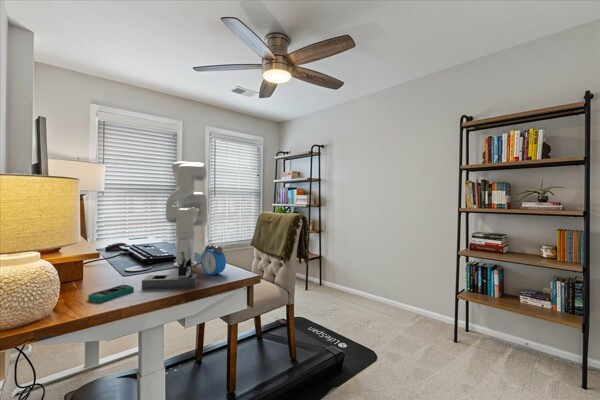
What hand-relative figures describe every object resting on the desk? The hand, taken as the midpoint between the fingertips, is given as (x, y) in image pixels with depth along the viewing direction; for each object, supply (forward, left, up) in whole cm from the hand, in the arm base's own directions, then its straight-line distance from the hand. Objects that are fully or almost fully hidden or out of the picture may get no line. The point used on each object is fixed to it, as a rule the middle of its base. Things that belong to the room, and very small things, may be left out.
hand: (185, 272), depth 131 cm
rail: (0, -6, -6) cm, 8 cm away
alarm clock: (-17, +10, -6) cm, 21 cm away
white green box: (0, 0, -5) cm, 5 cm away
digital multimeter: (+10, -26, -6) cm, 29 cm away
